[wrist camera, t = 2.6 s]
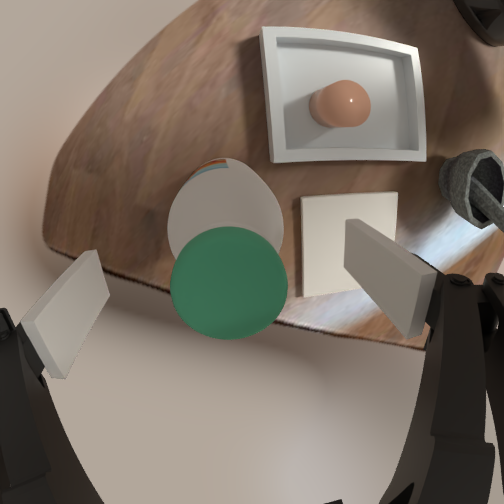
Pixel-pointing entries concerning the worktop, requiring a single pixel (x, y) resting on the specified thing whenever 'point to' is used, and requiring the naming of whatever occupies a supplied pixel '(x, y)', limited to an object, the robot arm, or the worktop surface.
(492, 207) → the mortar and pestle
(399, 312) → the robot arm
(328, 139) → the tray
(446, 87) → the worktop surface
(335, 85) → the pinkish brown rounded cylinder
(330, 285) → the pad
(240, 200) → the milk bottle
